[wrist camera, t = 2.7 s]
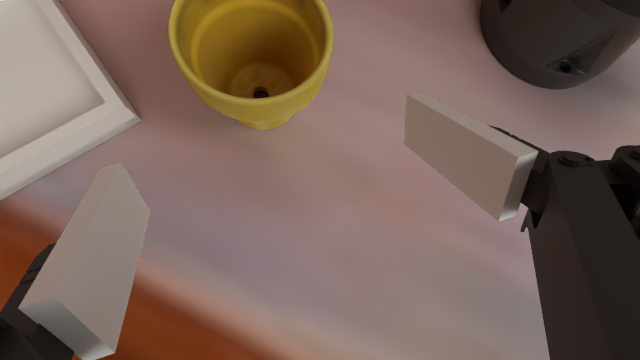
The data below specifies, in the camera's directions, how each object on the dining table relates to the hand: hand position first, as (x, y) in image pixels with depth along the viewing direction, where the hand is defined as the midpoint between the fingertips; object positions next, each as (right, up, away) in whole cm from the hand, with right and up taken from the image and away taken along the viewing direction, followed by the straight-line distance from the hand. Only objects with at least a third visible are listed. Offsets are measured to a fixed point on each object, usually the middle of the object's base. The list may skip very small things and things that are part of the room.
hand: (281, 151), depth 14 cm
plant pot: (-4, +6, +14) cm, 16 cm away
